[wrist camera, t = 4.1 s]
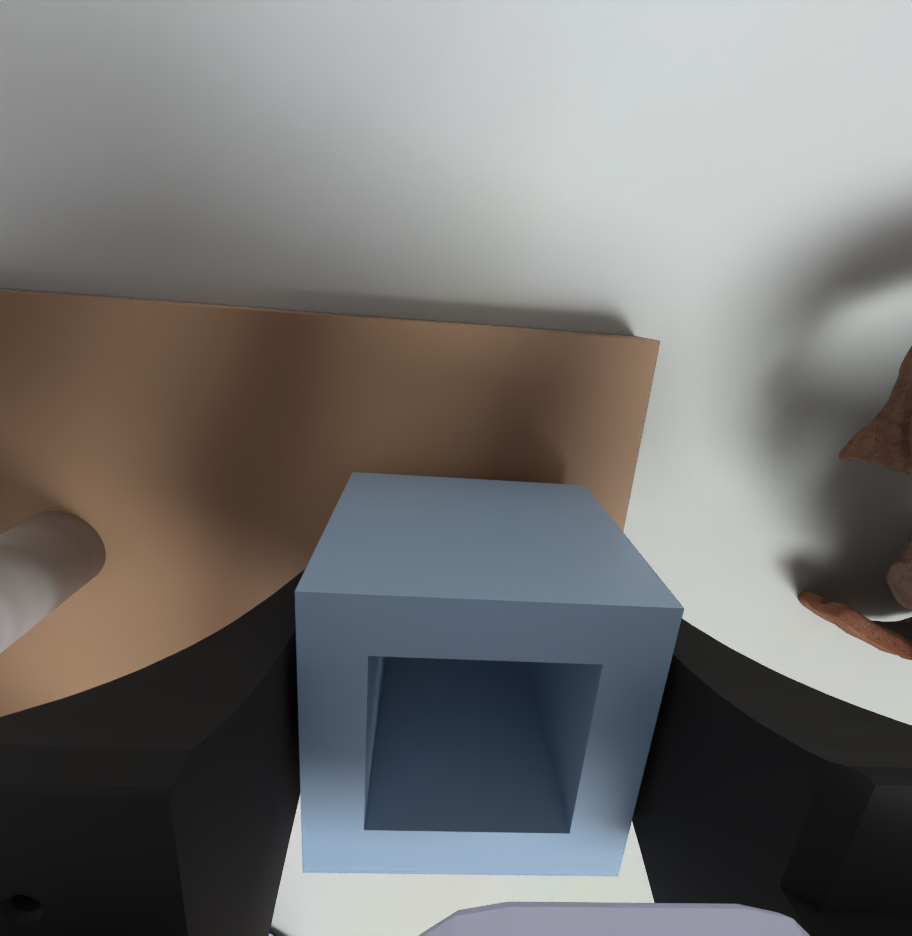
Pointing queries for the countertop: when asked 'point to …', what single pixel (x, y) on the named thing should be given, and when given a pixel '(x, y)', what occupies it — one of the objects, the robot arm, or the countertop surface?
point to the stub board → (252, 455)
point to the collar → (475, 679)
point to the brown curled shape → (908, 451)
